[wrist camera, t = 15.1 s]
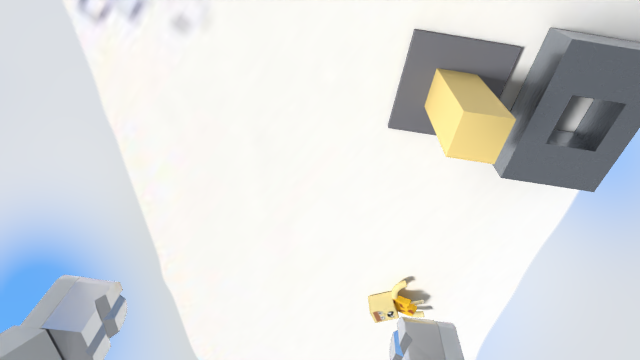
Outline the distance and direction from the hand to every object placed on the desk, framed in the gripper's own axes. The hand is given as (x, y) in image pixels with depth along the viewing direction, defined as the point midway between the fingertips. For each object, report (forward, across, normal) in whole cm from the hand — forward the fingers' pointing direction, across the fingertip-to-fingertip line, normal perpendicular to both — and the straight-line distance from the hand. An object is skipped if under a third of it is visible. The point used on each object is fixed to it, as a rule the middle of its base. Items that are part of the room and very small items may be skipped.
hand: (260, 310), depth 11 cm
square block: (+29, -14, +3) cm, 32 cm away
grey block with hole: (+30, -26, +3) cm, 39 cm away
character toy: (+30, -17, +36) cm, 50 cm away
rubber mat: (+30, -14, +3) cm, 33 cm away
